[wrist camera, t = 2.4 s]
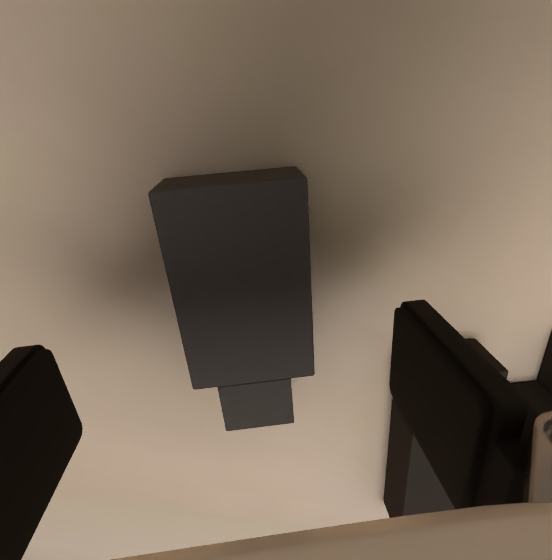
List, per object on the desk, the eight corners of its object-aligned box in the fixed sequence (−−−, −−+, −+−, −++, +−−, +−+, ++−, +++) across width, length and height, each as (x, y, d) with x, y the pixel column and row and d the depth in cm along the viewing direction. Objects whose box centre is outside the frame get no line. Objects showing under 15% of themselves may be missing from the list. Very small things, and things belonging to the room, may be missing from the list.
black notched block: (396, 347, 18) (419, 381, 15) (628, 320, 18) (683, 349, 16) (383, 501, 23) (398, 544, 20) (563, 476, 23) (598, 515, 21)
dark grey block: (163, 178, 13) (147, 192, 11) (296, 166, 13) (307, 177, 11) (207, 393, 18) (203, 434, 16) (307, 381, 18) (316, 420, 16)
